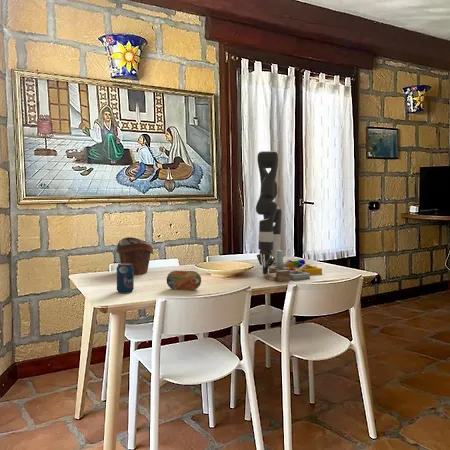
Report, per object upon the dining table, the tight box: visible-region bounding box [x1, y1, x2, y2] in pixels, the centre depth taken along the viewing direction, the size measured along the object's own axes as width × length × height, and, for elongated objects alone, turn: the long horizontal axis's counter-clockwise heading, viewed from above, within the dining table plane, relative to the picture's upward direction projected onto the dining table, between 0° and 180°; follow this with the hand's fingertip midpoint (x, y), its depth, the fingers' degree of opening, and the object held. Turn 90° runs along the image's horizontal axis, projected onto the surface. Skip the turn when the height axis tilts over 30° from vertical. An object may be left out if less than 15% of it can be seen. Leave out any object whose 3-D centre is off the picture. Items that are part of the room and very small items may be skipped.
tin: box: [166, 270, 202, 292], centre depth 198 cm, size 15×3×8 cm, turn 81°
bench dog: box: [275, 270, 291, 283], centre depth 219 cm, size 3×6×5 cm, turn 121°
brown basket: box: [116, 236, 154, 276], centre depth 236 cm, size 18×20×18 cm
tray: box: [290, 270, 311, 281], centre depth 228 cm, size 10×10×2 cm
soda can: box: [116, 262, 135, 294], centre depth 191 cm, size 7×7×12 cm
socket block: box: [268, 266, 291, 274], centre depth 239 cm, size 8×8×3 cm
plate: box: [263, 273, 277, 282], centre depth 224 cm, size 8×8×2 cm
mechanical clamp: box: [283, 259, 323, 276], centre depth 247 cm, size 18×6×30 cm
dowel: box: [275, 249, 284, 269], centre depth 239 cm, size 4×4×12 cm
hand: (265, 274), depth 232 cm, fingers closed
